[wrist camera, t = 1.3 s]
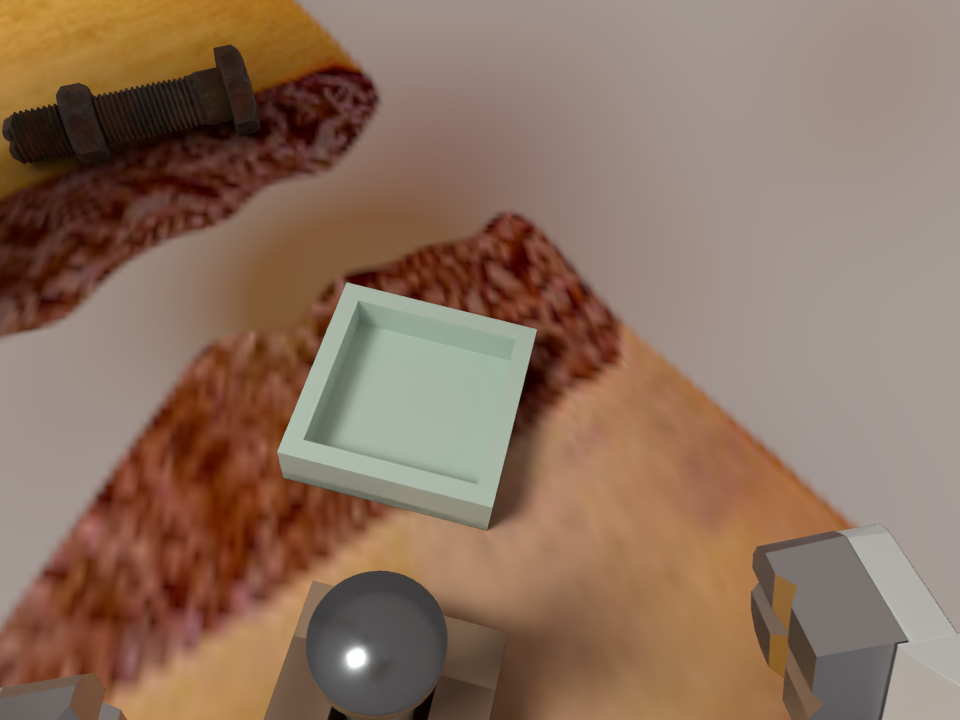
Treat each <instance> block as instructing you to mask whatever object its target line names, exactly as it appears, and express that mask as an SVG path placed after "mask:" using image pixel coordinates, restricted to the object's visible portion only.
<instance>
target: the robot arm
mask: <svg viewBox="0 0 960 720" xmlns="http://www.w3.org/2000/svg"><path fill="white" fill-rule="evenodd" d="M752 568H753V570H754V572H755V574H756V576H757V578H758V581H759V583H758V584H757V586H756V587H755V588H754V589H753V590H752V591H751V611H752V617H753V622H754V628H755V632H756V635H757V638H758V642H759V645H760V648H761V650H762V653H763V655H764V657H765V660H766V662H767V664H768V667H770V668H771V669H772V670H774V671H775V672H777V673H778V674H780V675H781V676H782V677H784V690H783V701H784V703H785V706H786V708H787V710H788V712H789V715H790V717H791V719H792V720H960V633H958V632H957V631H956V630H955V628H954V627H953V625H952V624H951V622H950V621H949V619H948V618H947V616H946V615H945V613H944V612H943V610H942V609H941V607H940V606H939V604H938V603H937V601H936V600H935V599H934V597H933V596H932V594H931V593H930V591H929V589H928V588H927V587H926V585H925V583H924V582H923V580H922V579H921V578H920V576H919V575H918V573H917V572H916V570H915V569H914V567H913V566H912V564H911V563H910V561H909V560H908V558H907V557H906V555H905V554H904V552H903V551H902V549H901V548H900V546H899V545H898V543H897V542H896V540H895V539H894V537H893V536H892V534H891V533H890V531H889V530H888V529H887V528H885V527H884V526H883V525H881V524H873V525H868V526H863V527H858V528H853V529H847V530H842V531H838V532H835V531H832V532H827V533H822V534H817V535H812V536H807V537H802V538H797V539H792V540H787V541H782V542H777V543H772V544H768V545H763V546H758V547H756V549H755V551H754V553H753V566H752ZM105 691H106V688H105V686H104V685H103V684H102V683H101V681H100V680H99V679H98V677H97V676H96V675H95V674H94V673H91V674H84V675H78V676H72V677H66V678H59V679H53V680H47V681H41V682H35V683H28V684H22V685H16V686H10V687H4V688H0V720H127V719H126V717H125V716H124V714H123V713H122V711H121V710H120V709H118V708H115V707H113V706H111V705H108V704H106V703H104V702H103V699H104V695H105Z"/></svg>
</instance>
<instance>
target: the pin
mask: <svg viewBox="0 0 960 720" xmlns="http://www.w3.org/2000/svg"><path fill="white" fill-rule="evenodd" d="M447 642H448V637H447V627H446V623H445V619H444V616H443V613H442V611H441V609H440V607H439V605H438V603H437V602H436V600H435V599H434V597H433V596H432V595H431V594H430V593H429V592H428V591H427V590H426V589H425V588H424V587H423V586H422V585H421V584H419V583H417V582H416V581H414V580H413V579H411V578H409V577H407V576H404V575H401V574H398V573H394V572H389V571H370V572H365V573H361V574H357V575H354V576H352V577H350V578H347V579H345V580H344V581H342V582H340V583H339V584H337V585H336V586H335V587H333V588H332V589H331V590H330V591H329V592H328V593H327V594H326V595H325V596H324V597H323V598H322V600H321V601H320V602H319V604H318V605H317V607H316V609H315V610H314V612H313V614H312V617H311V619H310V622H309V625H308V629H307V635H306V656H307V661H308V665H309V669H310V672H311V675H312V678H313V680H314V683H315V685H316V687H317V689H318V690H319V692H320V694H321V695H322V696H323V697H324V699H325V700H326V701H327V702H328V703H329V704H330V705H331V706H332V707H334V708H335V709H336V710H338V711H339V712H341V713H343V714H345V715H346V717H347V720H413V716H414V709H415V708H416V707H418V706H419V705H420V704H421V703H422V702H423V701H424V700H425V699H426V698H427V697H428V696H429V695H430V693H431V692H432V691H433V689H434V688H435V686H436V684H437V682H438V680H439V678H440V676H441V673H442V670H443V667H444V662H445V657H446V652H447Z"/></svg>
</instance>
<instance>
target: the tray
mask: <svg viewBox="0 0 960 720" xmlns="http://www.w3.org/2000/svg"><path fill="white" fill-rule="evenodd" d="M536 331H537V329H533V328H529V327H525V326H521V325H517V324H513V323H509V322H505V321H501V320H497V319H493V318H489V317H485V316H480V315H476V314H472V313H468V312H464V311H460V310H456V309H452V308H448V307H444V306H440V305H436V304H432V303H428V302H424V301H419V300H415V299H411V298H407V297H403V296H399V295H395V294H391V293H387V292H383V291H379V290H375V289H371V288H367V287H363V286H359V285H354V284H350V283H346V286H345V288H344V290H343V293H342V295H341V298H340V300H339V303H338V305H337V307H336V310H335V312H334V315H333V317H332V320H331V322H330V325H329V327H328V329H327V332H326V334H325V337H324V339H323V342H322V344H321V347H320V349H319V351H318V354H317V356H316V359H315V361H314V364H313V366H312V369H311V371H310V373H309V376H308V378H307V381H306V383H305V386H304V388H303V390H302V393H301V395H300V398H299V400H298V403H297V405H296V408H295V410H294V412H293V415H292V417H291V420H290V422H289V425H288V427H287V430H286V432H285V434H284V437H283V439H282V442H281V444H280V447H279V449H278V451H277V453H278V458H279V462H280V466H281V470H282V474H283V478H286V479H290V480H294V481H298V482H302V483H306V484H309V485H313V486H317V487H321V488H325V489H329V490H333V491H336V492H340V493H344V494H348V495H352V496H356V497H360V498H363V499H367V500H371V501H375V502H379V503H383V504H387V505H390V506H394V507H398V508H402V509H406V510H410V511H413V512H417V513H421V514H425V515H429V516H433V517H437V518H440V519H444V520H448V521H452V522H456V523H460V524H464V525H467V526H471V527H475V528H479V529H483V530H487V528H488V524H489V520H490V516H491V512H492V508H493V504H494V500H495V496H496V492H497V488H498V484H499V480H500V476H501V472H502V468H503V464H504V460H505V456H506V452H507V448H508V444H509V440H510V436H511V432H512V428H513V424H514V420H515V416H516V412H517V408H518V404H519V400H520V396H521V392H522V388H523V384H524V380H525V376H526V372H527V368H528V364H529V360H530V356H531V352H532V348H533V344H534V340H535V336H536Z"/></svg>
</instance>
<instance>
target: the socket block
mask: <svg viewBox="0 0 960 720" xmlns="http://www.w3.org/2000/svg"><path fill="white" fill-rule="evenodd" d="M333 587H335V586H331V585H327V584H323V583H320V582H316V581H312V584H311V587H310V590H309V593H308V596H307V598H306V601H305V604H304V607H303V610H302V613H301V615H300V618H299V621H298V624H297V627H296V630H295V632H294V635H293V638H292V641H291V644H290V647H289V649H288V652H287V655H286V658H285V661H284V664H283V666H282V669H281V672H280V675H279V678H278V681H277V683H276V686H275V689H274V692H273V695H272V698H271V700H270V703H269V706H268V709H267V712H266V715H265V717H264V720H338V718H339V714H340V712H339V711H338V710H336V709H335V708H334V707H332V706H331V705H330V704H329V703H328V702H327V701H326V700H325V699H324V697H323V696H322V695H321V694H320V692H319V690H318V689H317V687H316V685H315V683H314V680H313V678H312V675H311V672H310V669H309V665H308V661H307V656H306V635H307V629H308V625H309V622H310V619H311V617H312V614H313V612H314V610H315V609H316V607H317V605H318V604H319V602H320V601H321V600H322V598H323V597H324V596H325V595H326V594H327V593H328V592H329V591H330V590H331V589H332V588H333ZM443 616H444V615H443ZM444 619H445V623H446V627H447V637H448V642H447V652H446V657H445V662H444V667H443V670H442V673H441V676H440V678H439V680H438V682H437V684H436V686H435V688H434V689H433V691H432V692H431V693H430V694H434V696H433V700H432V704H431V708H430V712H429V716H428V720H489V719H490V714H491V709H492V705H493V700H494V696H495V691H496V687H497V682H498V678H499V673H500V669H501V664H502V659H503V655H504V650H505V646H506V641H507V637H508V632H504V631H501V630H497V629H493V628H489V627H485V626H482V625H478V624H474V623H470V622H467V621H463V620H459V619H455V618H452V617H448V616H444Z"/></svg>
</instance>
